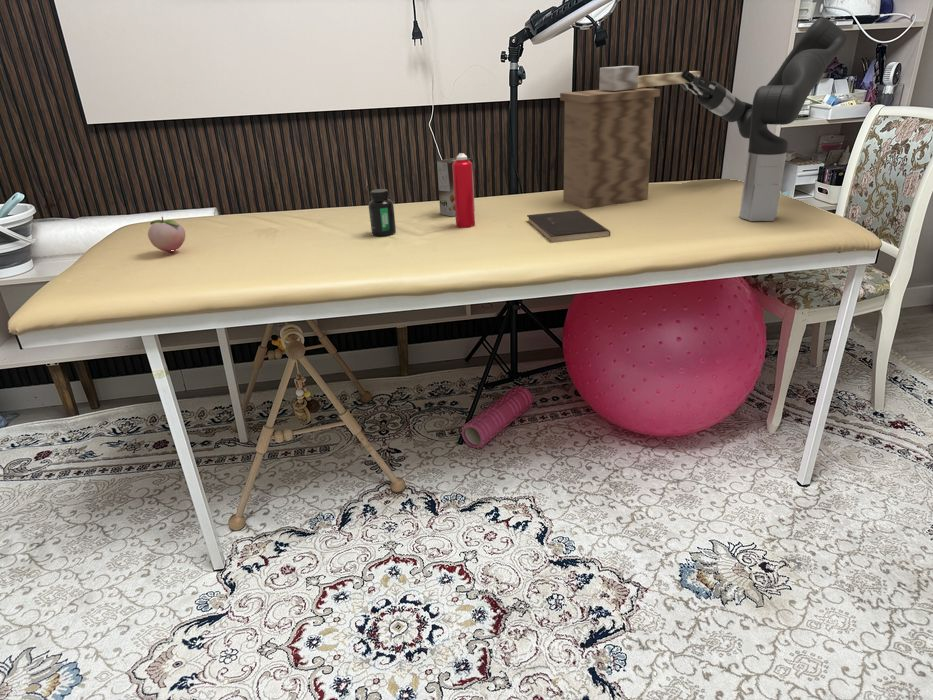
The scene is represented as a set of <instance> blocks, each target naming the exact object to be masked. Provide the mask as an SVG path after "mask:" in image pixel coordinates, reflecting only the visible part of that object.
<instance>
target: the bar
mask: <svg viewBox="0 0 933 700" xmlns="http://www.w3.org/2000/svg"><path fill="white" fill-rule="evenodd" d="M639 68H640V67H639V65H620V66H619V65H618V66H607V67H599V84H598V85H599V87H598V90H609V91H617V90H628V89H638V88H649V87H650V88H651V87H660V86H669V85H670V86H671V85H680V84H682V83H690V82H691V81H690V82H688V81H687V80H685V79H684V78H682V76H681V75H682V72H683V71H682V72H678V73H675V72H668V73H667V72H666V73H656V74H645V75H639V72H640V71H639ZM688 71H689V72H690V73H691V74H693V75H697V76H698V77H699V76H701V71H700V70H692V71H691V70H688Z"/></svg>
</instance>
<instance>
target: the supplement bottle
mask: <svg viewBox="0 0 933 700" xmlns="http://www.w3.org/2000/svg"><path fill="white" fill-rule="evenodd" d="M389 197H390V195H389V190H388V189H387V188H386V189H385V188H377V189H372V190H371V191H370V199H371V200H370V202H369V203H368V213H369V222H370V228H371V229H370V231H371V234H372V235H373V236H375V237H381V238H382V237H389V236H393V235H394V234H396V232H397V226H396V218H395V217H396V216H395V208H394V203H393V200H391V199H390V198H389Z"/></svg>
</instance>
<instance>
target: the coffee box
mask: <svg viewBox="0 0 933 700" xmlns="http://www.w3.org/2000/svg"><path fill="white" fill-rule="evenodd" d="M456 160H457V158H456V157H453V158H446V159H439V160H437V161H436V164H437V168H436V169H437V183H438V184H437V186H438V196H439V197H438V198H439V201H438V202H439V212H440V214H441V215H444V216H448V217H452V218H453V217H456V216H455V200H454V184H453V168H452V165H453V163H454V162H455V161H456ZM467 160H469V161H470V162H471V163H472V173H473V174H474V163H473V161H474V159H473V158H470V157H467ZM474 186H475V185H474V181H473V194H474V195H475V190H474V189H475V187H474ZM475 208H476V206H475V205H474V212H475V211H476V209H475Z"/></svg>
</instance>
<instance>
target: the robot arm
mask: <svg viewBox="0 0 933 700" xmlns="http://www.w3.org/2000/svg"><path fill="white" fill-rule="evenodd" d="M847 42H848V34H847V33H846V31H845V30H844V29H842V28H841V27H840V26H838V25H836V24H835V23H834V22H832V20H830V19H829V18H827V17H824V16H822V17H819V18H817V19H816V20H815V21H814V22H813V23H811V25H810V26H809V27H808V28H807V29H806V31H805V32H804V33H803V34H802V36H801V37H800V38H799V40H798V41H797V43H796V44H795V45H794V47H793V48H792V49H791V50H790V52H789V54H788V55H787V57H785V59H784V60H783V62H782V63H781V65H780V67H779V69H778V70H777V71H776V73H775V74H774V76H773V77H772V78H771V79H770V81H769V82H768V83H767V84H766V85H761V86H759V87H758V88H757V89H756V91H755V92H754V96H753V101H752V103H750V102H746V101H742V100H740V99H739V98H738V97H737V96H735V95H734V94H732V92H731V91H729V90H728V89H727V88H726V87H724V86H723V85H721V84H720V83H718V81H716V80H709V79H707V78H705V77H703V76H701V75H700V76H699V77H698V76H697V75H693V74H691V73H690V72H689V71H690V70H687V69H683V71H682V70H680V69H676V71H675V72H674V73H678V72H682V75H681V76H682V78H684V79H685V80H687V81H688V82H690V81H691V82H690V83H682V84H679V86H680V87H681V88H682V89H683V90H684V91H685V92H688V91H690V92H692V94H694V95H695V96H697V101H698V103H699V104H700V105H701V106H703V108H705V109H707V110H708V111H710V112H711V113H713V114H715V115H717V116H719V117H720V118H722V119H723V120H724V121H726V122H728V123H735V122H736V124H737V127H738V131H739V135H740V136H741V137H742V138H744V139H748V149H747V157H746V164H745V171H744V178H743V185H742V194H741V199H740V200H741V202H740V211H739V218H741V219H742V220H746V221H749V222H774V221H775V220H776V219H777V217H778V216H777V214H778V209H779V202H780V196H781V190H782V183H783V177H784V171H785V166H786V160H787V153H788V148H789V147H788V146H789V143H788V140H786V139H785V138H783V137H780V136H778V135H776V134H775V133H773V132H771V131H770V129H769V128H768V125H780V126H782V125H789V124H792V123H793V122H794V121H796V119H797V117H798V116H799V114H800V113H801V111H802V108H803V107H804V105H805V102H806V101H807V99H808V96H809V95H810V93H811V92H812V90H813V89H814V87H815V86H816V85H817V84H818V82H819V81H820V79H821V78H822V77H823V75H824V73H825V72H826V70H827V69H828V67H829V65H830V64H831V63H832V61H833V60H834V59H835V58H836V57H837V56H838V55H839V54H840V53H841V51H842V50H843V48H844V47H845V46H846V44H847Z"/></svg>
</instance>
